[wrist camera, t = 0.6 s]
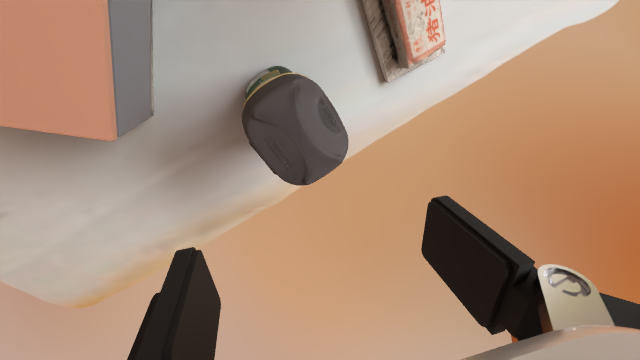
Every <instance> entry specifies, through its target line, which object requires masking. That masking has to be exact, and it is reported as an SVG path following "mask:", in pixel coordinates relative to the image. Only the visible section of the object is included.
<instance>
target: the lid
mask: <svg viewBox="0 0 640 360" xmlns="http://www.w3.org/2000/svg"><path fill="white" fill-rule="evenodd" d="M0 126H5V127H12V128H19V129H26V130H34V131H41V132H48V133H55V134H63V135H70V136H77V137H84V138H92V139H99V140H106V141H114V140H115V139H117V127H116V113H115V99H114V85H113V71H112V57H111V43H110V28H109V14H108V0H0Z"/></svg>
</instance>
